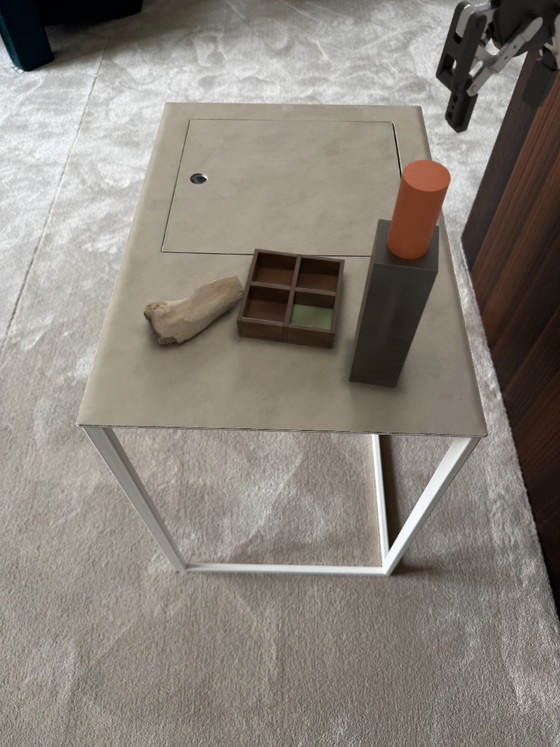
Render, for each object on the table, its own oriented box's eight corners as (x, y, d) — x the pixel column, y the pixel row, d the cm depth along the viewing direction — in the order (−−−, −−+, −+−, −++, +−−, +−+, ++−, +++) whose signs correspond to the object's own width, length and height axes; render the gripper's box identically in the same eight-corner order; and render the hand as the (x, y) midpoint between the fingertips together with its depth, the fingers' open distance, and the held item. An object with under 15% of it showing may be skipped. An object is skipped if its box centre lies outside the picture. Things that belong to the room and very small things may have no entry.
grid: (342, 276, 79) (345, 259, 76) (332, 349, 72) (334, 333, 69) (256, 265, 80) (255, 248, 77) (238, 336, 74) (236, 320, 70)
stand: (397, 349, 72) (439, 225, 54) (395, 387, 69) (438, 271, 51) (353, 343, 73) (378, 218, 54) (348, 381, 70) (374, 263, 51)
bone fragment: (163, 355, 72) (156, 334, 68) (145, 321, 75) (137, 299, 71) (254, 316, 75) (252, 294, 71) (233, 285, 78) (231, 262, 74)
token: (429, 231, 53) (451, 162, 46) (427, 261, 51) (450, 194, 44) (388, 226, 53) (403, 157, 47) (385, 256, 51) (401, 188, 45)
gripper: (526, -65, 33) (453, 160, 47) (696, -105, 36) (581, 118, 50) (455, -109, 37) (406, 113, 51) (616, -142, 40) (529, 75, 54)
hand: (493, 115), depth 50 cm, fingers open, 8 cm apart
